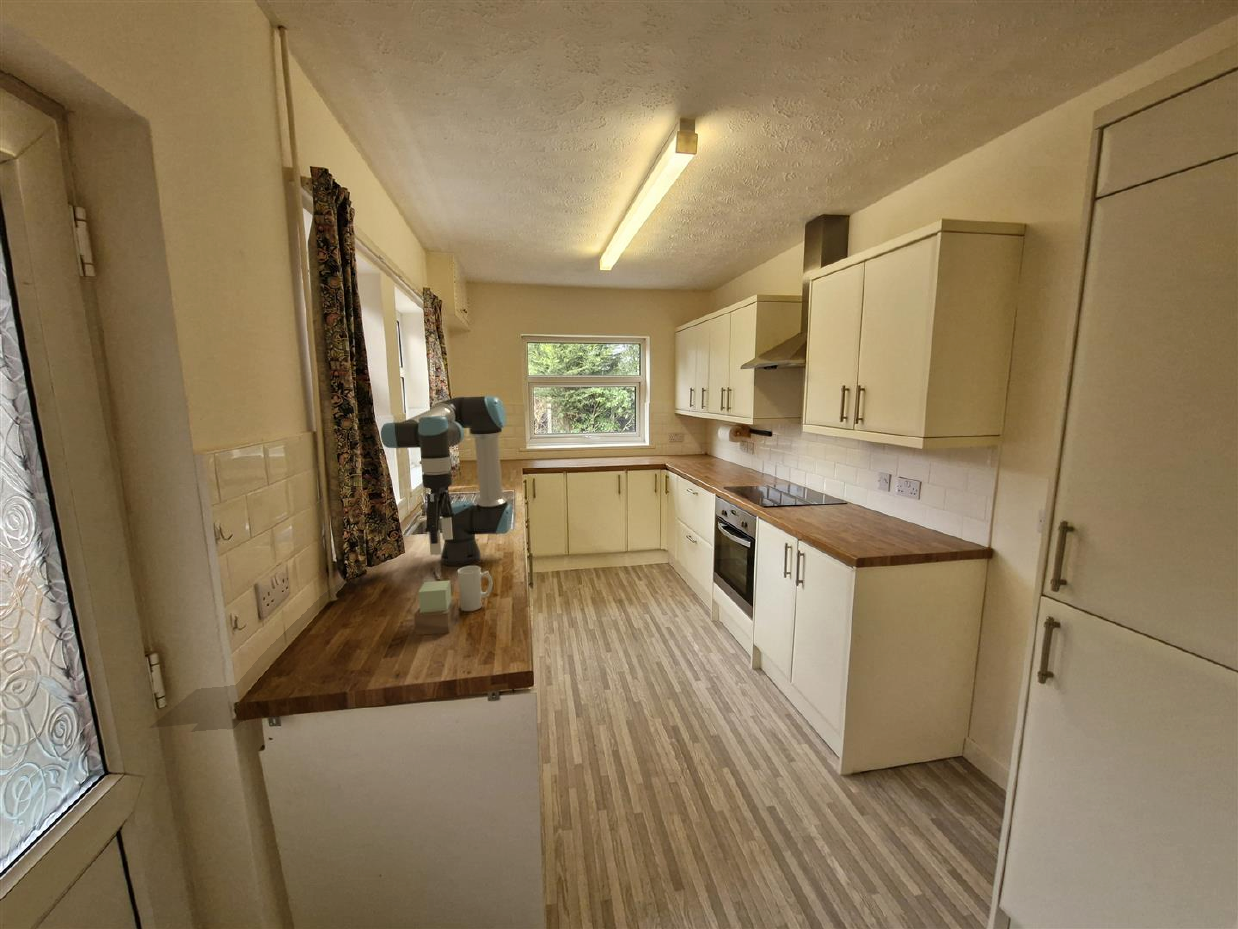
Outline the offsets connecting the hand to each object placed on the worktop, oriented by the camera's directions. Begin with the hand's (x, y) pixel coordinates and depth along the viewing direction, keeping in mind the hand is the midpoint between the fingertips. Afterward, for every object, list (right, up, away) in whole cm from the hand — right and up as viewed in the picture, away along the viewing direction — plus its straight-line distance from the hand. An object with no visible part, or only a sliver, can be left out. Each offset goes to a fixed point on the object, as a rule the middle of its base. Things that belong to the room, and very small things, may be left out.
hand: (442, 546), depth 134 cm
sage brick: (-1, -17, -1) cm, 17 cm away
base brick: (-1, -23, 0) cm, 23 cm away
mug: (+6, -21, +12) cm, 25 cm away
